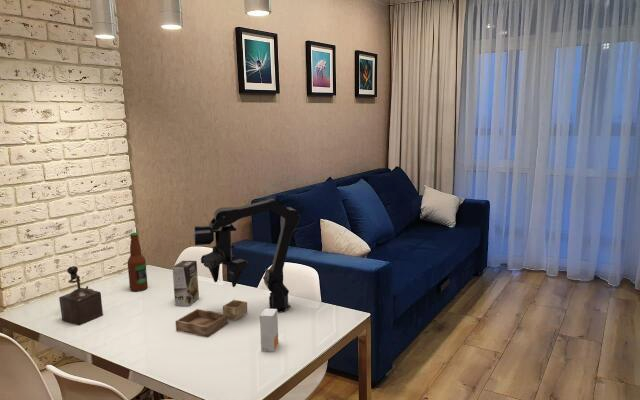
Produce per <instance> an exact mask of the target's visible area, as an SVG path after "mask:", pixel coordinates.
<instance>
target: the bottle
mask: <svg viewBox="0 0 640 400" xmlns="http://www.w3.org/2000/svg"><path fill="white" fill-rule="evenodd" d="M129 236H130V237H129V238H130V245H129V246H130V247H129V250H130V251H129V252H130V253H129V254H130V255H129V258H128V260H127V271H128V282H129V283H128V284H129V290H130V291H132V292H134V293H135V292H137V293H138V292H143V291H145V290H147V288H148V286H149V285H148V276H147V274H148V273H147V264H146V263H147V262H146V259H145V257H144V255H143V254H142V248H141V245H140V244H141V243H140V240H139V233H138V232H131V233H130V234H129Z"/></svg>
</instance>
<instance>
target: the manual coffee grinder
mask: <svg viewBox="0 0 640 400" xmlns="http://www.w3.org/2000/svg"><path fill="white" fill-rule="evenodd" d="M78 270H79V268H78V267H77V266H76V265H72V266H70V267H68V268H67V270H66V272H67V273H68V274H69V275H70V279H69V280H68V284H74V283H75V284H77V288H76V289H74V290H72V291H71V292H69V293H66V294H64V295H61V296H59V297H58V300H59V307H60V314H61V320H62V321H63V322H64V323H69V324H72V325H73V324H74V325H77V326H82V325H84V324H87V323H89V322H91V321H93V320H95V319H98V318H101V317H102V316H104V311H103V304H102V303H103V301H102V293H101V291H98V290H95V289H93V288H89V286H88V285H86V287H81V279H80V275H78V272H79V271H78Z"/></svg>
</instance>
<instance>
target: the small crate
mask: <svg viewBox="0 0 640 400" xmlns="http://www.w3.org/2000/svg"><path fill="white" fill-rule="evenodd" d="M248 312H249V311H248V302H247V301H244V300H239V299H233V300H231V301H229V302H227V303H226V304H224V305H223V306H222V314H227V315H228V320H233V321H238V320H240V319H241V318H243V317H244V316H246V315H247V314H248Z"/></svg>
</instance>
